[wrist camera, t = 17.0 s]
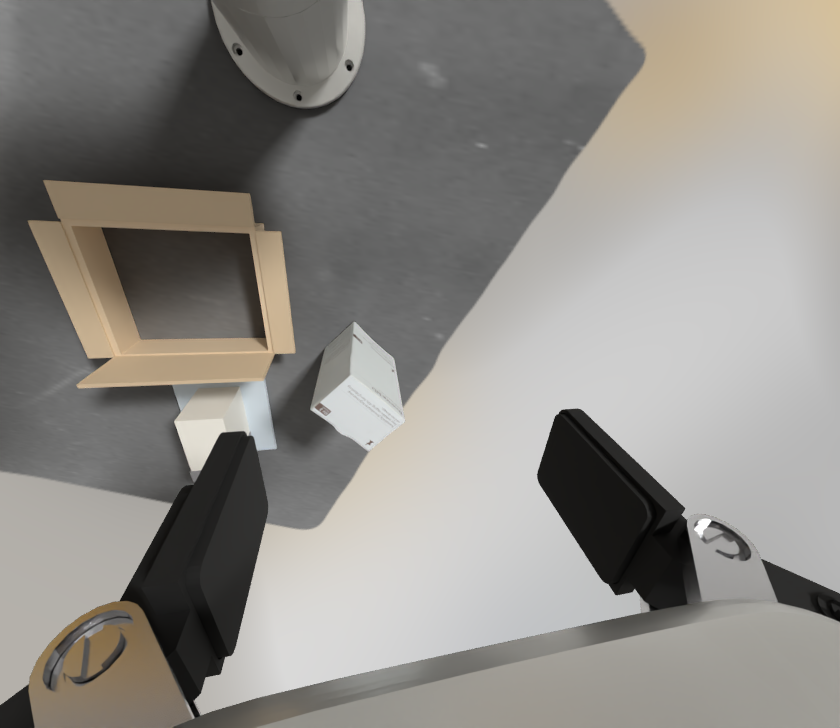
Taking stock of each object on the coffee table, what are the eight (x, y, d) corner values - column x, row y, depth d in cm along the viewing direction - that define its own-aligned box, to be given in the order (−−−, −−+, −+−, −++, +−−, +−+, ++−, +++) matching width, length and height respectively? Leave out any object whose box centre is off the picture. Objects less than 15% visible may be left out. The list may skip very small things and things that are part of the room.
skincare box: (394, 357, 47) (412, 421, 34) (364, 384, 48) (370, 456, 35) (351, 317, 43) (353, 373, 30) (319, 347, 44) (308, 413, 32)
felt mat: (171, 375, 42) (169, 377, 42) (263, 372, 44) (263, 374, 44) (196, 452, 48) (195, 455, 48) (276, 446, 50) (276, 449, 50)
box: (197, 388, 43) (172, 422, 37) (240, 386, 44) (223, 419, 38) (213, 443, 47) (193, 481, 41) (252, 440, 48) (238, 477, 42)
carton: (47, 178, 31) (-67, 175, 23) (283, 194, 35) (262, 197, 27) (113, 344, 39) (47, 389, 31) (299, 341, 43) (288, 379, 35)
